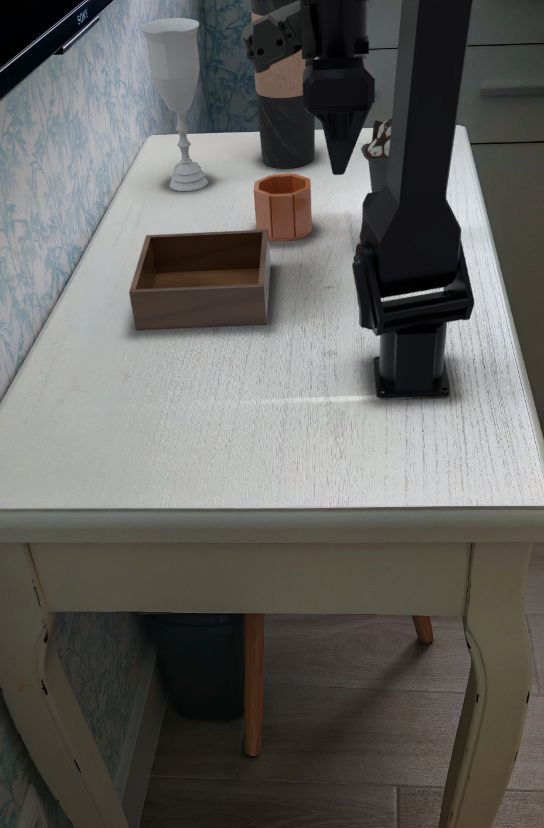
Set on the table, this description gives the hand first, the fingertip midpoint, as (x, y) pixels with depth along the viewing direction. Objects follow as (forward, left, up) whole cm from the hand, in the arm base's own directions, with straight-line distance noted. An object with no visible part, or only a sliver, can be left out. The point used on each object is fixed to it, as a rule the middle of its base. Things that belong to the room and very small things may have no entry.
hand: (337, 156), depth 91 cm
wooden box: (-5, +14, -12) cm, 19 cm away
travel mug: (+35, +6, -12) cm, 38 cm away
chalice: (+28, +19, -12) cm, 36 cm away
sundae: (+7, -6, -12) cm, 15 cm away
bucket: (+11, +6, -12) cm, 17 cm away
